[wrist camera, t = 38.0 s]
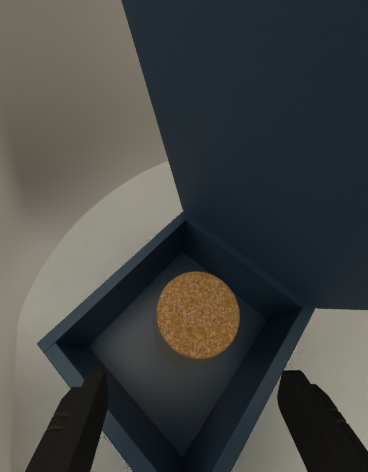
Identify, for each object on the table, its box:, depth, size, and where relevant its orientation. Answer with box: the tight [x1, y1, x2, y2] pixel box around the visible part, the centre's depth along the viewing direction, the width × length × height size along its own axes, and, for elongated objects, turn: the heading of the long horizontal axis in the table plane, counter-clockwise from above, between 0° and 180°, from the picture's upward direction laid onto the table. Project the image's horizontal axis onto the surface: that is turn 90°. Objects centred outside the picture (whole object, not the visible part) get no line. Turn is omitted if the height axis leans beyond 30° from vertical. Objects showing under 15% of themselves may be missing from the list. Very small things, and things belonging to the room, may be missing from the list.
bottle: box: [153, 271, 240, 367], centre depth 18 cm, size 6×6×15 cm
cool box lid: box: [122, 0, 368, 310], centre depth 13 cm, size 19×16×5 cm
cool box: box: [37, 211, 316, 472], centre depth 22 cm, size 18×16×9 cm
